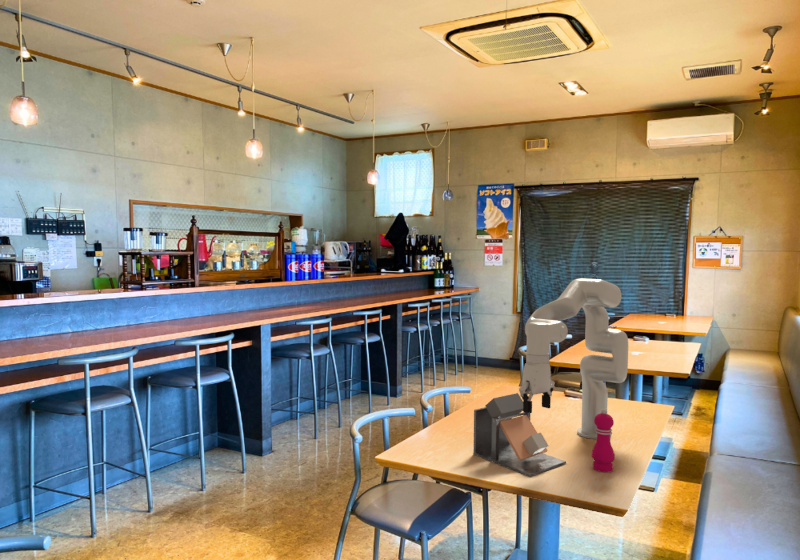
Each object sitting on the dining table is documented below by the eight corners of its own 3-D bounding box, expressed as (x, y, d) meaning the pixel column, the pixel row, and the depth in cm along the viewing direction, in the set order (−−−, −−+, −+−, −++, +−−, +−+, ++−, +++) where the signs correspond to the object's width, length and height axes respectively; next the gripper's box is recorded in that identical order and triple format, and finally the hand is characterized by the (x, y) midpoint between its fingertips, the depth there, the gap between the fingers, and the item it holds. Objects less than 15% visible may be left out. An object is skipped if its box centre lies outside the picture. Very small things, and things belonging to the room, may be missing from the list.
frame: (509, 443, 209) (509, 401, 209) (566, 463, 190) (567, 416, 189) (473, 454, 198) (474, 409, 197) (530, 476, 178) (530, 427, 177)
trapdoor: (510, 400, 205) (518, 392, 202) (542, 454, 195) (551, 448, 191) (484, 405, 197) (492, 398, 194) (515, 463, 186) (524, 456, 183)
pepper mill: (587, 464, 189) (589, 406, 188) (608, 464, 189) (609, 405, 189) (597, 473, 182) (598, 412, 181) (618, 472, 182) (619, 411, 181)
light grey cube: (531, 439, 193) (540, 432, 190) (539, 452, 190) (548, 445, 187) (522, 442, 190) (531, 435, 186) (529, 455, 187) (539, 449, 184)
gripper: (544, 354, 195) (543, 403, 196) (511, 360, 184) (511, 411, 185) (563, 358, 189) (562, 408, 190) (530, 363, 178) (529, 416, 179)
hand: (536, 409), depth 187 cm, fingers open, 9 cm apart
